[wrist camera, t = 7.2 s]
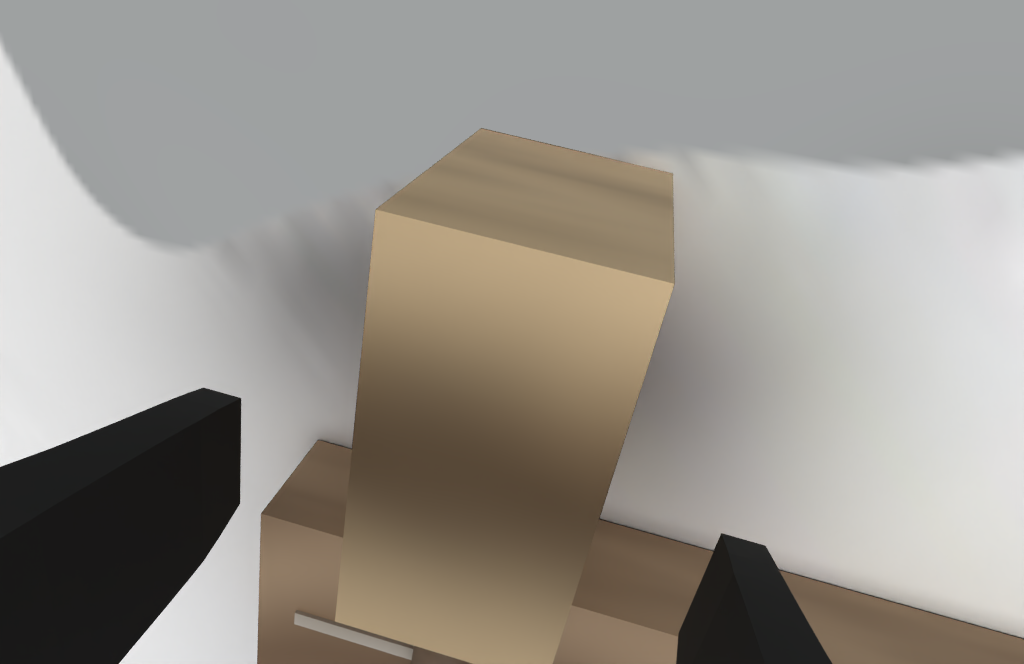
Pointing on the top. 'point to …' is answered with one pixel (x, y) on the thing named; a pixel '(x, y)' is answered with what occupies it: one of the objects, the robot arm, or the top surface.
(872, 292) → the top surface
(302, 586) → the walnut plank
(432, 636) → the light wood pillar
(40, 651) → the robot arm
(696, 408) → the top surface
